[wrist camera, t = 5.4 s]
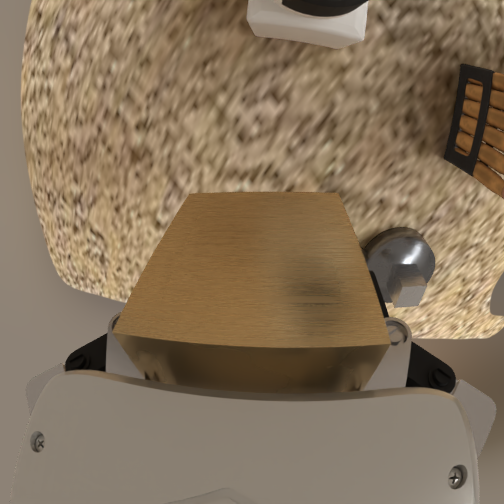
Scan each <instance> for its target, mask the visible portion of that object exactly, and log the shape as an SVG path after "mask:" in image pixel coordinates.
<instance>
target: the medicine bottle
mask: <svg viewBox="0 0 504 504" xmlns="http://www.w3.org/2000/svg"><path fill="white" fill-rule="evenodd" d="M367 9H368V0H248V8H247V17H246V18H247V21H248V23H249V25H250V27H251V29H252V31H253V33H254V35H255V36H257V37H266V38H275V39H284V40H291V41H298V42H304V43H310V44H315V45H320V46H325V47H330V48H334V49H340V48H343V47H346V46H349V45H352V44H355V43H358V42H361V41H363V40H364V37H365V28H366V19H367Z"/></svg>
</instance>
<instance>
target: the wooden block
mask: <svg viewBox="0 0 504 504" xmlns="http://www.w3.org/2000/svg"><path fill="white" fill-rule="evenodd" d="M112 333H113V334H114V336H115V337H116V339H117V340H118V342H119V343H120V345H121V346H122V348H123V349H124V351H125V352H126V354H127V355H128V357H129V358H130V360H131V361H132V362H133V364H134V365H135V367H136V368H137V369H139V370H144V371H145V372H146V373H147V375H148V376H149V378H150V379H151V381H155V382H161V383H167V384H174V385H181V386H188V387H196V388H204V389H214V390H224V391H237V392H253V393H285V394H306V393H336V392H352V391H357V389H358V388H359V386H360V384H361V383H362V381H369V380H370V378H371V377H372V375H373V374H374V372H375V370H376V369H377V367H378V365H379V364H380V362H381V360H382V359H383V357H384V355H385V353H386V352H387V350H388V348H389V346H390V345H391V342H390V338H389V334H388V331H387V327H386V323H385V320H384V317H383V313H382V310H381V307H380V303H379V300H378V297H377V294H376V291H375V288H374V285H373V282H372V279H371V276H370V273H369V270H368V267H367V264H366V261H365V259H364V256H363V253H362V251H361V248H360V245H359V243H358V240H357V237H356V235H355V232H354V230H353V227H352V225H351V222H350V220H349V217H348V215H347V213H346V210H345V208H344V205H343V203H342V201H341V198H340V196H339V194H338V193H319V192H222V193H194V194H189V195H188V197H187V198H186V200H185V202H184V203H183V205H182V206H181V208H180V209H179V211H178V213H177V214H176V216H175V218H174V219H173V221H172V222H171V224H170V226H169V227H168V229H167V231H166V232H165V234H164V236H163V237H162V239H161V241H160V243H159V244H158V246H157V248H156V249H155V251H154V253H153V255H152V256H151V258H150V260H149V262H148V264H147V265H146V267H145V269H144V271H143V273H142V274H141V276H140V278H139V280H138V282H137V284H136V286H135V288H134V289H133V291H132V293H131V295H130V297H129V299H128V301H127V303H126V305H125V307H124V309H123V311H122V313H121V315H120V317H119V319H118V321H117V323H116V325H115V327H114V329H113V331H112Z"/></svg>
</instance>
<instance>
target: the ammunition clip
mask: <svg viewBox="0 0 504 504" xmlns="http://www.w3.org/2000/svg"><path fill="white" fill-rule="evenodd" d="M482 86H483V87H482ZM478 102H480V103H478ZM489 106H492V107H493V108H492V107H489ZM501 110H502V111H504V74H501V73H496V72H494V71H492V70H488V69H484V68H480V67H476V66H471V65H466V64H461V68H460V77H459V85H458V92H457V99H456V105H455V110H454V116H453V121H452V126H451V130H450V135H449V139H448V143H447V147H446V151H445V155H444V159H445V160H447V161H449V162H450V163H452V164H453V165H455V166H457V167H458V168H460V169H462V170H463V171H465V172H466V173H468V174H469V175H471V176H473V177H474V178H476V179H477V180H478V181H480V182H481V183H482V184H483V185H485V186H486V187H487V188H488V189H489V190H491V191H492V192H494V193H496V194H498V195H499V196H501V197H502V198H503V199H504V180H503V179H502V178H501V176H499V175H498V174H497V173H496V172H494V171H493V170H492V169H490V168H489V167H488V166H490V167H491V168H493V169H494V170H496V171H497V172H499V173H501V174H503V175H504V155H503V154H502V153H500V152H498V151H497V150H495V149H493V147H495V148H496V149H498V150H500V151H502V152H503V153H504V132H502V131H504V112H502V111H501ZM474 118H475V119H474ZM476 119H477V120H476ZM486 123H487V124H489V125H490V126H489V125H487V124H486ZM497 128H498V129H500V130H502V131H500V130H498V129H497ZM470 135H472V136H474V137H472V136H470ZM482 141H484V142H486V144H485V143H483V142H482ZM466 151H467V152H468V153H470V154H468V153H466ZM477 158H478V159H479V160H480V161H479V160H477Z"/></svg>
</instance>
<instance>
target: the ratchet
mask: <svg viewBox="0 0 504 504" xmlns="http://www.w3.org/2000/svg"><path fill="white" fill-rule="evenodd" d="M361 251H362V253H363V256H364V259H365V261H366V264H367V267H368V270H369V271H371V270H372V271H373V272H374V273H375V276H376V279H377V282H378V284H379V287H380V290H381V293H382V296H383V299H384V302H386V303H391V302H393V305H394V308H398V307H411V306H418V305H419V303H420V301H421V299H422V296H423V294H424V292H425V290H426V287H427V283H428V281H429V280H430V278H431V276H432V274H433V272H434V268H435V257H434V254H433V252H432V250H431V248H430V247H429V245H428V244H427V242H426V241H425V239H424V238H423V237H422V235H421V234H420V233H419V232H417V231H416V230H413V229H410V228H405V227H399V228H393V229H390V230H387V231H384V232H383V233H381V234H379V235H378V236H376V237H375V238H374V239H372V240H371V241H370V242H369V243H368V245H367V246H366V247H365V249H361Z"/></svg>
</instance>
